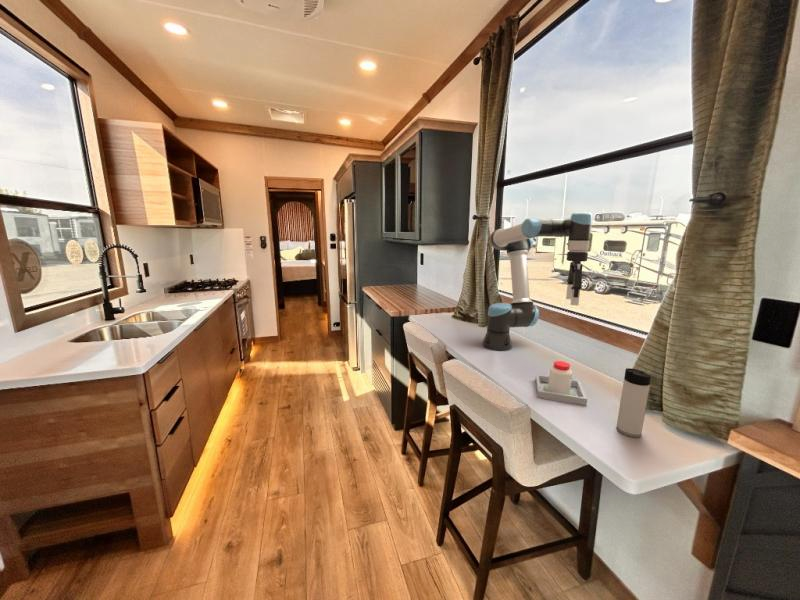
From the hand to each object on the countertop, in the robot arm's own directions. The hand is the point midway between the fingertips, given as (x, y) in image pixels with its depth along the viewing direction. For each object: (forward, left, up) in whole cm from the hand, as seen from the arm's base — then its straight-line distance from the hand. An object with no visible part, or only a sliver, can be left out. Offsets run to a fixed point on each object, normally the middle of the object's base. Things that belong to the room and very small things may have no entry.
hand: (571, 302), depth 134 cm
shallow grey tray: (+21, -4, -32) cm, 38 cm away
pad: (+21, -4, -32) cm, 38 cm away
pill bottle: (+21, -4, -31) cm, 38 cm away
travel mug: (+42, +13, -32) cm, 54 cm away
